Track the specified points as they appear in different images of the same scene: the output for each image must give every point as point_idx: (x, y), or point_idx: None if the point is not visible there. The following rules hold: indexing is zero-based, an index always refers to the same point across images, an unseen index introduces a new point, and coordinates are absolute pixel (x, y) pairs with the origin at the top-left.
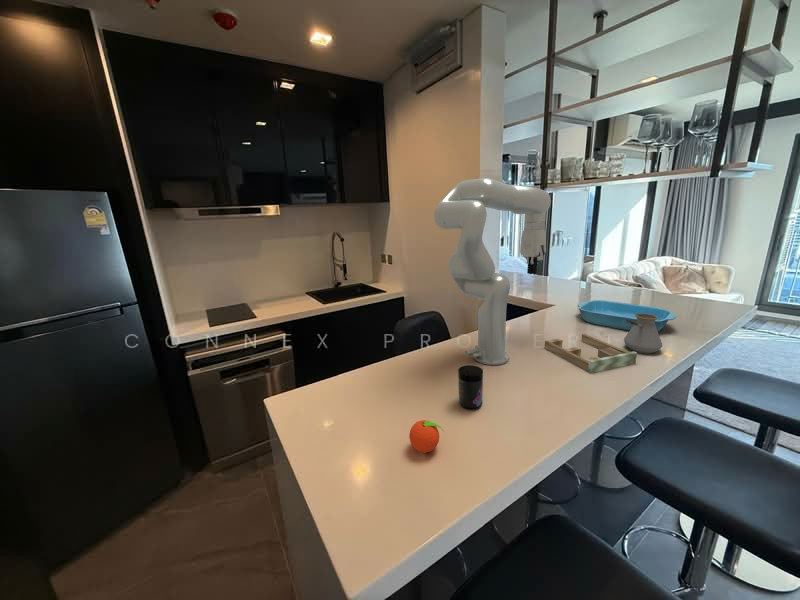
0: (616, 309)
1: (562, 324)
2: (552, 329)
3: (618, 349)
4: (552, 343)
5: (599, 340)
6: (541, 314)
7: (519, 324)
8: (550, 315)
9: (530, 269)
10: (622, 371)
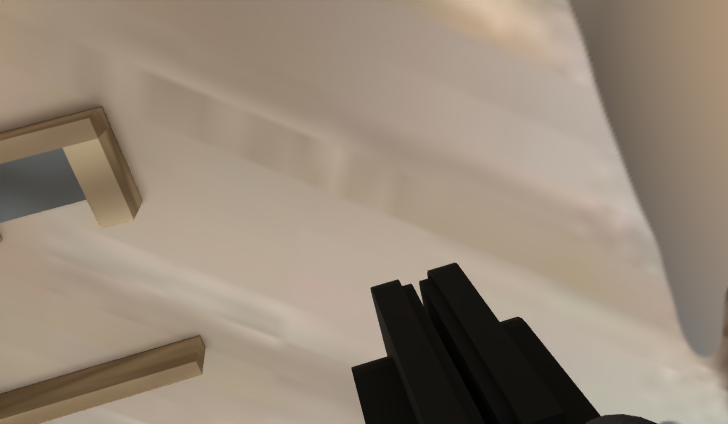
0: None
1: None
2: (398, 267)
3: None
4: (39, 147)
5: (92, 402)
6: (638, 300)
7: (528, 116)
8: (605, 337)
9: (396, 354)
10: None
